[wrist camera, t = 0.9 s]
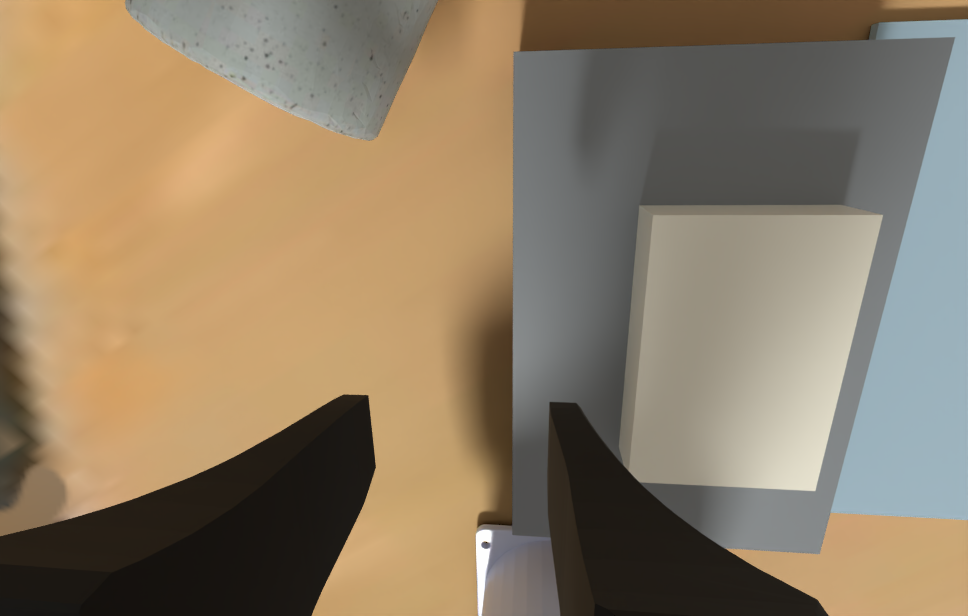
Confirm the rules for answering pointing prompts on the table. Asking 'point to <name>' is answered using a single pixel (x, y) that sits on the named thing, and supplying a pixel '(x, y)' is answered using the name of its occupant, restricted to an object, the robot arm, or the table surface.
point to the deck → (695, 181)
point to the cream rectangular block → (740, 340)
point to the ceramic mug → (300, 51)
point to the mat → (921, 329)
